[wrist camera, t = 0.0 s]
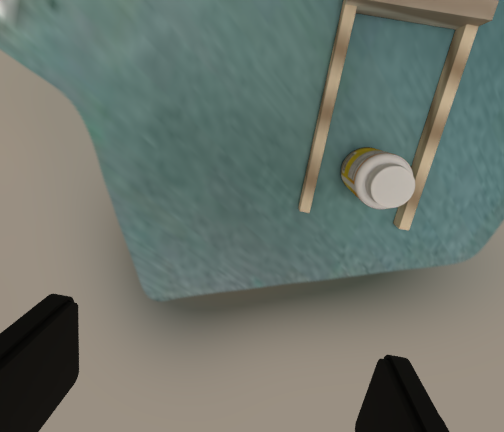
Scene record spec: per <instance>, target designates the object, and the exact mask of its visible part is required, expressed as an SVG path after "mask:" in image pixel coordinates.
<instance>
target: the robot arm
mask: <svg viewBox="0 0 504 432" xmlns="http://www.w3.org/2000/svg"><path fill="white" fill-rule="evenodd" d="M78 341H79V340H78V305H77V303H74V300H73V298H72V297H68V296H63V295H57V294H51V295H49V296H47V297H46V298H45V299H43V300H42V301H41V302H40V303H38V304H37V305H36V306H34V307H33V308H32V309H31V310H30V311H28V312H27V313H26V314H24V315H23V316H22V317H21V318H19V319H18V320H17V321H16V322H15V323H13V324H12V325H10V326H9V327H8V328H7V329H5V330H4V331H3V332H2V333H0V432H38V431H39V430H40V429H41V427H42V426H43V425H44V424H45V422H46V421H47V420H48V418H49V417H50V416H51V414H52V413H53V411H54V410H55V409H56V407H57V406H58V405H59V404H60V402H61V401H62V399H63V398H64V397H65V395H66V394H67V393H68V391H69V390H70V389H71V387H72V386H73V385H74V383H75V382H76V379H77V377H78V373H79V344H78V343H79V342H78ZM355 432H449V430H448V428H447V427H446V425H445V423H444V421H443V420H442V418H441V417H440V415H439V414H438V412H437V410H436V408H435V407H434V405H433V403H432V401H431V399H430V397H429V396H428V394H427V392H426V390H425V388H424V387H423V385H422V383H421V381H420V379H419V377H418V376H417V374H416V372H415V370H414V368H413V366H412V365H411V363H410V361H409V360H408V359H406V358H403V357H398V356H392V355H386V356H385V357H384V359H379V360H378V362H377V365H376V368H375V371H374V373H373V376H372V379H371V382H370V384H369V387H368V390H367V393H366V396H365V399H364V401H363V404H362V407H361V410H360V412H359V415H358V418H357V421H356V426H355Z"/></svg>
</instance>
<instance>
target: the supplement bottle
mask: <svg viewBox="0 0 504 432" xmlns="http://www.w3.org/2000/svg"><path fill="white" fill-rule="evenodd" d="M341 177H342V180H343V182H344V184H345V185H346V186H347V188H348V189H350V190H351V191H352V192H353V193H354V194H355V195H356V196H357V197H358V198H359V199H360V200H361V201H362V202H363V203H364V204H366V205H367V206H369V207H372V208H375V209H388V208H395V207H399V206H401V205H403V204H405V203H406V202H407V201H408V200H409V199H410V198H411V197H412V195H413V193H414V190H415V179H414V177H413V172H412V169H411V167H410V165H409V164H408V163H407V162H406V161H405V160H404V159H403V158H401V157H399V156H397V155H395V154H391V153H388V152H384V151H381V150H378V149H375V148H369V147H364V148H359V149H357V150H354V151H353V152H351V153H350V154H349V155H348V156H347V157H346V158H345V160H344V162H343V164H342V167H341Z"/></svg>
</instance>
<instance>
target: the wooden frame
mask: <svg viewBox="0 0 504 432" xmlns="http://www.w3.org/2000/svg"><path fill="white" fill-rule="evenodd" d="M497 4H498V0H343V5H342V9H341V14H340V19H339V23H338V28H337V32H336V37H335V42H334V46H333V51H332V55H331V60H330V65H329V69H328V74H327V78H326V83H325V88H324V92H323V97H322V101H321V106H320V110H319V115H318V120H317V124H316V129H315V133H314V138H313V143H312V147H311V152H310V156H309V161H308V166H307V170H306V175H305V179H304V184H303V189H302V193H301V198H300V202H299V210H300V211H301V212H307V213H310V208H311V204H312V200H313V195H314V191H315V187H316V182H317V178H318V174H319V169H320V165H321V161H322V156H323V152H324V148H325V143H326V139H327V135H328V130H329V126H330V122H331V117H332V113H333V109H334V104H335V100H336V96H337V91H338V87H339V83H340V78H341V74H342V70H343V65H344V61H345V57H346V52H347V48H348V44H349V39H350V35H351V31H352V26H353V22H354V18H355V13H358V14H364V15H370V16H376V17H383V18H389V19H395V20H401V21H407V22H413V23H419V24H425V25H431V26H437V27H443V28H449V29H455V33H454V36H453V39H452V42H451V45H450V48H449V52H448V55H447V58H446V61H445V64H444V67H443V70H442V73H441V76H440V79H439V83H438V86H437V89H436V92H435V95H434V98H433V101H432V104H431V107H430V111H429V114H428V117H427V120H426V123H425V126H424V129H423V132H422V135H421V138H420V142H419V145H418V148H417V151H416V154H415V157H414V160H413V163H412V166H411V169H412V172H413V177H414V179H415V190H414V193H413V195H412V197H411V198H410V199H409V200H408V201H407V202H406V203H405V204H403V205H401V206H399V207H398V210H397V213H396V216H395V219H394V222H393V224H394V225H396V226H397V227H398V228H399V229H404V230H409V229H410V226H411V223H412V220H413V217H414V214H415V211H416V208H417V205H418V202H419V199H420V196H421V194H422V191H423V188H424V185H425V182H426V179H427V176H428V173H429V170H430V167H431V164H432V161H433V158H434V155H435V152H436V150H437V147H438V144H439V141H440V138H441V135H442V132H443V129H444V126H445V123H446V120H447V117H448V114H449V111H450V109H451V106H452V103H453V100H454V97H455V94H456V91H457V88H458V85H459V82H460V79H461V76H462V73H463V70H464V68H465V65H466V62H467V59H468V56H469V53H470V50H471V47H472V44H473V41H474V38H475V35H476V32H477V29H478V27H479V26H480V25H483V24H485V23H487V22H489V21H492V19H493V16H494V13H495V10H496V7H497Z"/></svg>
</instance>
